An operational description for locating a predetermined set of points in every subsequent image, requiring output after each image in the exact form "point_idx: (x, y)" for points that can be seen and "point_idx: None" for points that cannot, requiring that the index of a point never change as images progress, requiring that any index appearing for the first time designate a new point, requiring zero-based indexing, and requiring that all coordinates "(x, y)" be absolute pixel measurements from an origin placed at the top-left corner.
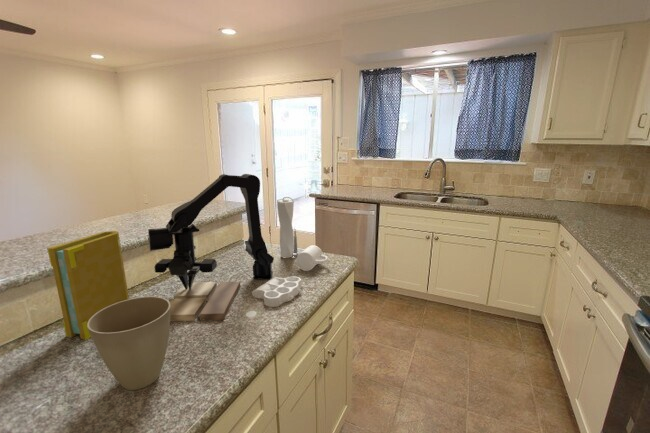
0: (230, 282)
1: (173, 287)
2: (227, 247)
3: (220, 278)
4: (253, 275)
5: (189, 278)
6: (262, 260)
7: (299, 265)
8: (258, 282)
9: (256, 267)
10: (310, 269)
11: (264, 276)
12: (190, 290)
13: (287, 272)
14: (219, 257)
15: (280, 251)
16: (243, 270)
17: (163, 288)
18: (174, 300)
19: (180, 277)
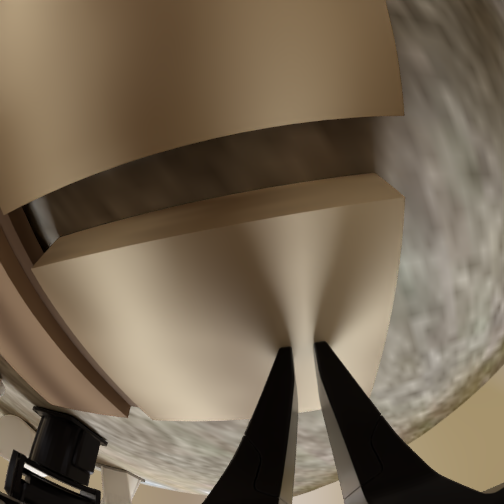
0: (74, 405)
1: (433, 351)
2: (311, 489)
3: (212, 435)
4: (84, 431)
5: (262, 475)
6: (14, 468)
7: (26, 434)
8: (40, 395)
9: (63, 456)
10: (5, 415)
11: (46, 417)
12: (264, 333)
13: (39, 422)
14: (310, 478)
15: (127, 486)
16: (168, 456)
17: (477, 329)
18: (328, 66)
19: (399, 468)
